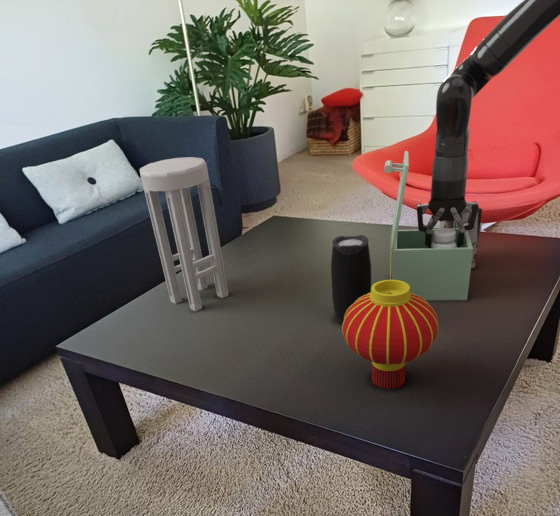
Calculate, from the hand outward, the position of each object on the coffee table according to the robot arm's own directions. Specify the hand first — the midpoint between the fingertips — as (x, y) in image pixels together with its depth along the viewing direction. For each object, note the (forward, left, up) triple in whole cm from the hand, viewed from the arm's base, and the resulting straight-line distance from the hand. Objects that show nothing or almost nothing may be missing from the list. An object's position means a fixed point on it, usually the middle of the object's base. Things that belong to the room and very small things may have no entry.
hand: (443, 246), depth 126 cm
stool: (+63, +5, -12) cm, 64 cm away
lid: (+10, 0, +12) cm, 16 cm away
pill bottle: (0, 0, -8) cm, 8 cm away
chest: (+3, 0, -11) cm, 12 cm away
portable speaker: (+21, +16, -12) cm, 29 cm away
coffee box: (-5, -15, -12) cm, 20 cm away
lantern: (+12, +41, -12) cm, 44 cm away
